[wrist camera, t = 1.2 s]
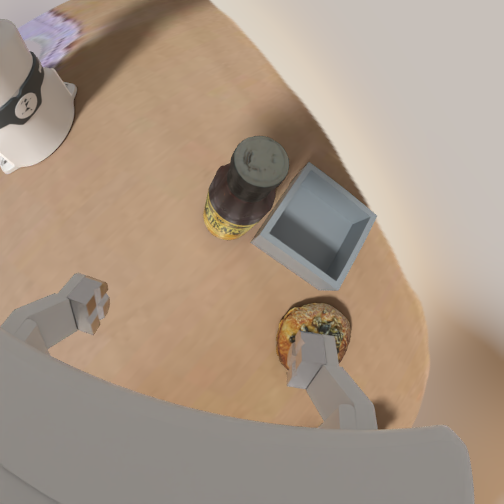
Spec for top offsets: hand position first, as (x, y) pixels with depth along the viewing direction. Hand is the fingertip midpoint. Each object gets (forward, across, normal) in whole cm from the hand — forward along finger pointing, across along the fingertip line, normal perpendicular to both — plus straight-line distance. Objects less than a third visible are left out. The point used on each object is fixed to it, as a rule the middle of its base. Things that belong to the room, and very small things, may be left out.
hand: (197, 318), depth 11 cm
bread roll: (+20, -13, +20) cm, 31 cm away
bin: (+28, -9, +9) cm, 31 cm away
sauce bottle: (+27, +2, +9) cm, 28 cm away
